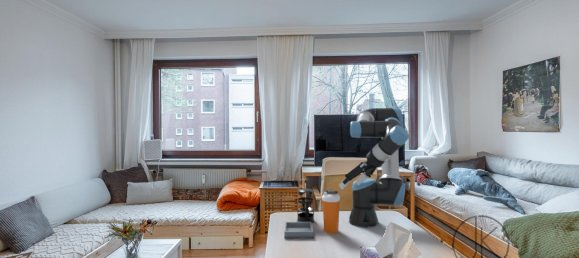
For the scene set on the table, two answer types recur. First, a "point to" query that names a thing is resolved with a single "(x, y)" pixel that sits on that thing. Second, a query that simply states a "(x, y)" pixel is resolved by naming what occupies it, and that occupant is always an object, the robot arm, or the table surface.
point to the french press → (305, 205)
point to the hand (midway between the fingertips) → (349, 185)
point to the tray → (298, 230)
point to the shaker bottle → (331, 211)
